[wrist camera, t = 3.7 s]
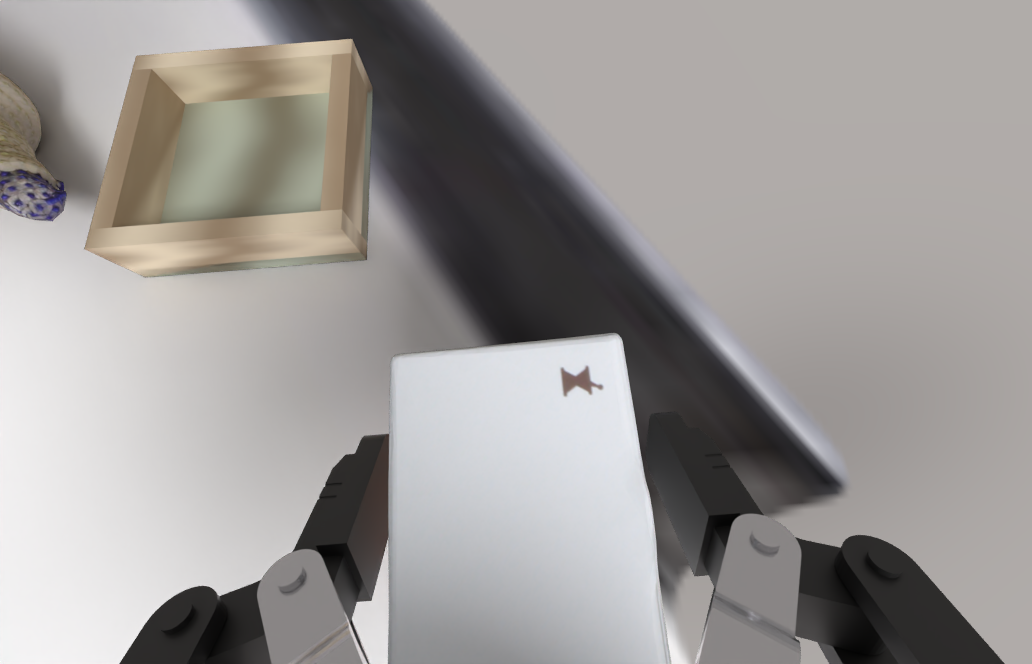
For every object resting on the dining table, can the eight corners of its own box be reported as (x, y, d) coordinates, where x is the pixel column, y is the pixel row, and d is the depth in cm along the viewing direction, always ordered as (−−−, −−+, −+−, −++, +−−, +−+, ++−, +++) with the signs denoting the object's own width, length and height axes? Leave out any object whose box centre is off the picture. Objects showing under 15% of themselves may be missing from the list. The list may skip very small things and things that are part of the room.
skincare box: (472, 411, 18) (384, 341, 7) (564, 404, 18) (630, 322, 7) (478, 559, 17) (374, 793, 5) (580, 551, 17) (704, 768, 5)
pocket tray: (145, 277, 21) (84, 249, 18) (182, 103, 24) (136, 55, 21) (366, 259, 21) (341, 228, 18) (372, 88, 24) (352, 38, 21)
